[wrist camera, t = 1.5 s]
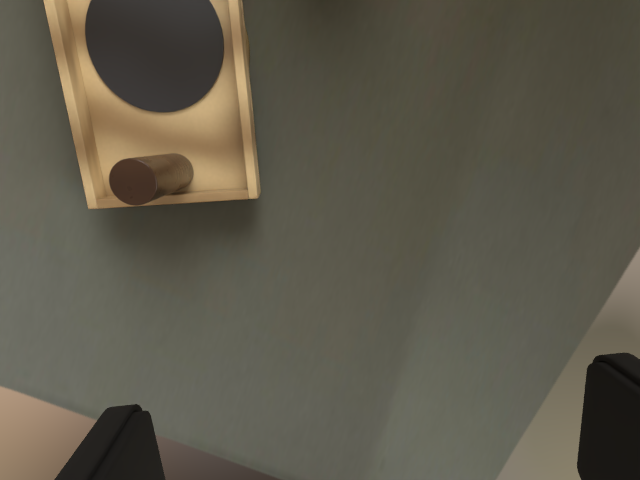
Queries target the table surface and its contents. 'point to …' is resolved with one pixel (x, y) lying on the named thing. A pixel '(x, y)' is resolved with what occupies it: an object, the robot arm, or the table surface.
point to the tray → (157, 99)
